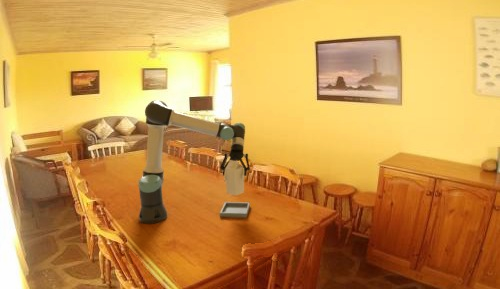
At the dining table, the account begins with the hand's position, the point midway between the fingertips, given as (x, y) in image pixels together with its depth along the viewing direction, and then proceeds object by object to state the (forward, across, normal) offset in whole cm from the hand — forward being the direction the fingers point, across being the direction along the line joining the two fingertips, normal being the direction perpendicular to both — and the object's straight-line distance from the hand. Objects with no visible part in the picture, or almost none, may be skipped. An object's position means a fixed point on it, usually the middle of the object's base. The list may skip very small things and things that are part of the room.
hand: (233, 180), depth 168 cm
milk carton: (+4, 0, -8) cm, 9 cm away
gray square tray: (+12, 0, -16) cm, 20 cm away
